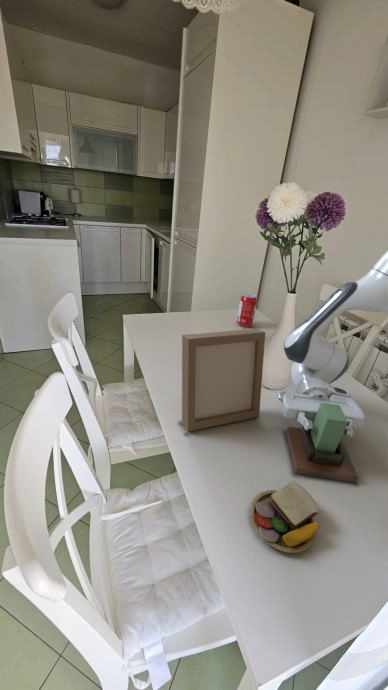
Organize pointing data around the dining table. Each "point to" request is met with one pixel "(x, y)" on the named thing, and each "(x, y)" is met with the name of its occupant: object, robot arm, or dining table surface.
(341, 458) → the base
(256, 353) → the photo frame
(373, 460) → the dining table surface
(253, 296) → the soda can
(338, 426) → the back pad
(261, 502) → the toy sandwich meal
